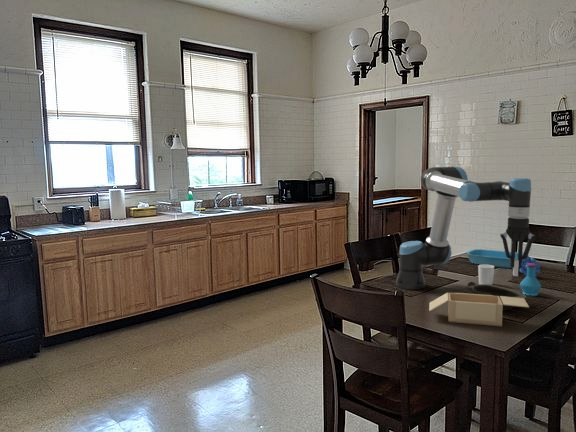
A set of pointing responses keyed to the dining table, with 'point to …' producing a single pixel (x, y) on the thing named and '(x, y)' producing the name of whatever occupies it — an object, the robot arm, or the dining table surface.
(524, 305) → the flap
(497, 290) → the stone bowl
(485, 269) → the white cup
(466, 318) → the carton
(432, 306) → the flap
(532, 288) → the perfume bottle
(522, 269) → the grapes
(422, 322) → the dining table surface
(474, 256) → the casserole dish
